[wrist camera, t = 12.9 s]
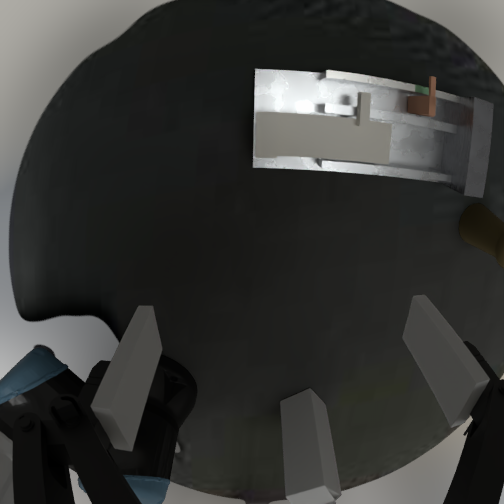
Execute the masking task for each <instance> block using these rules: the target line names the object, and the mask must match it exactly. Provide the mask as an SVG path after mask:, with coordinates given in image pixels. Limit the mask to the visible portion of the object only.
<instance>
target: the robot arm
mask: <svg viewBox="0 0 504 504" xmlns="http://www.w3.org/2000/svg"><path fill="white" fill-rule="evenodd" d="M402 339H403V340H404V342H405V344H406V345H407V347H408V349H409V350H410V352H411V354H412V356H413V357H414V359H415V361H416V363H417V364H418V366H419V368H420V370H421V372H422V373H423V375H424V377H425V379H426V381H427V382H428V384H429V386H430V388H431V390H432V392H433V393H434V395H435V397H436V399H437V401H438V403H439V405H440V407H441V409H442V410H443V412H444V414H445V416H446V418H447V420H448V422H449V424H450V426H451V427H454V426H457V425H460V424H463V423H465V421H466V420H467V418H468V417H469V415H471V416H472V418H473V420H472V422H471V424H470V425H469V427H468V428H467V430H466V431H465V433H464V435H466V434H467V432H468V434H467V438H466V441H465V445H464V448H463V451H462V454H461V457H460V460H459V463H458V466H457V469H456V472H455V474H454V477H453V480H452V483H451V485H450V488H449V490H448V493H447V495H446V498H445V500H444V503H443V504H499V500H500V496H501V493H502V488H503V484H504V380H503V379H502V380H500V379H499V378H498V377H497V375H496V374H495V372H494V371H493V370H492V368H491V367H490V366H489V364H488V363H487V362H486V361H485V359H484V358H483V356H482V355H480V352H479V351H478V350H477V348H476V347H475V346H473V345H472V344H471V343H469V342H468V341H465V342H463V341H462V340H461V339H460V338H459V336H458V335H457V334H456V332H455V331H454V330H453V329H452V327H451V326H450V325H449V324H448V322H447V321H446V320H445V318H444V317H443V316H442V315H441V314H440V312H439V311H438V310H437V309H436V307H435V306H434V305H433V304H432V303H431V301H430V300H429V299H428V298H427V297H426V295H418V296H413V298H412V302H411V307H410V311H409V315H408V318H407V322H406V326H405V330H404V333H403V337H402ZM161 352H162V345H161V340H160V336H159V332H158V327H157V323H156V318H155V313H154V308H153V306H138V308H137V310H136V312H135V314H134V315H133V317H132V319H131V321H130V323H129V325H128V327H127V329H126V331H125V333H124V335H123V337H122V340H121V342H120V344H119V346H118V348H117V350H116V352H115V354H114V356H113V358H112V360H111V361H103V360H101V361H99V362H98V363H97V364H96V365H95V366H94V367H93V368H92V370H91V372H90V374H89V378H87V380H86V382H84V381H82V380H81V379H80V378H79V377H78V376H77V375H75V374H74V373H73V372H72V371H71V370H70V369H68V366H67V365H66V364H63V363H62V362H61V361H59V360H58V359H57V358H56V357H55V356H54V355H52V354H51V353H50V352H49V351H48V350H46V349H44V348H35V349H33V350H32V351H30V352H29V353H28V354H27V355H26V356H25V357H24V358H23V359H21V360H20V361H19V362H18V363H17V365H15V366H14V367H13V368H12V369H11V370H10V371H9V372H8V373H7V374H6V375H5V376H4V377H3V378H2V379H1V380H0V504H75V502H74V496H73V491H72V485H71V479H70V473H69V468H70V469H72V470H73V471H75V472H77V474H78V476H79V478H78V484H79V487H80V488H81V489H82V490H84V492H85V493H87V495H88V497H89V499H90V501H91V502H92V504H162V502H163V501H164V499H165V496H166V492H167V489H168V485H169V484H170V476H171V470H172V464H173V458H174V453H175V447H176V442H177V437H178V432H179V428H180V427H181V425H182V424H183V422H184V421H185V419H186V418H187V416H188V415H189V414H190V412H191V411H192V409H193V407H194V405H195V402H196V396H197V386H196V383H195V381H194V379H193V377H192V376H191V374H190V373H189V372H188V371H187V370H186V369H185V368H184V367H182V366H181V365H180V364H178V363H177V362H175V361H173V360H171V359H169V358H167V357H164V356H162V355H161Z"/></svg>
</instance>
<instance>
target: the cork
mask: <svg viewBox="0 0 504 504" xmlns="http://www.w3.org/2000/svg"><path fill="white" fill-rule="evenodd" d="M459 233H460V236H461V238H462V239H463V240H464V241H465V242H467V243H469V244H471V245H473V246H475V247H477V248H479V249H481V250H483V251H484V252H486V253H488V254H490V255H492V256H494V257H496V260H497V262H498V264H499V265H500V266H501V267H502V268H503V269H504V223H503V222H502V221H501V220H500V219H499V218H498V217H497V216H495V215H494V214H493V213H492V212H491V211H490V210H489V209H487V208H486V207H485V206H484V205H482V204H479V203H476V204H472V205H470V206H469V207H468V208H467V209H466V210H465V211H464V212H463V214H462V216H461V219H460V222H459Z"/></svg>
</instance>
